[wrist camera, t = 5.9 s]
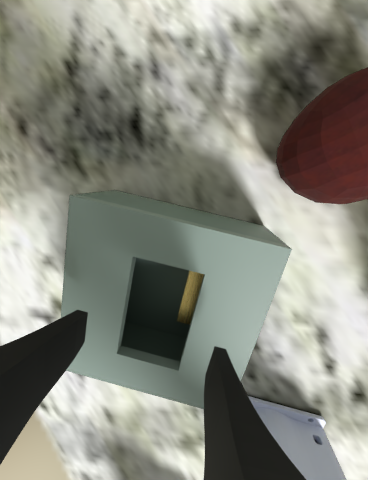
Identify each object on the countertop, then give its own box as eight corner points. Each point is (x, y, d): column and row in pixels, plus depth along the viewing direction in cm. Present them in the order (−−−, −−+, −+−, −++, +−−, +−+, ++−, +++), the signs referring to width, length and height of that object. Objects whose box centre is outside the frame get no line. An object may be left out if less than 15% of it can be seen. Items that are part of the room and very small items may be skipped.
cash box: (264, 225, 18) (291, 249, 12) (222, 349, 22) (227, 415, 16) (114, 189, 19) (69, 195, 13) (98, 316, 23) (57, 368, 16)
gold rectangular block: (192, 257, 19) (242, 269, 19) (180, 305, 21) (226, 317, 21) (190, 267, 17) (247, 282, 17) (176, 321, 18) (229, 335, 18)
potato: (394, 176, 16) (494, 174, 11) (282, 216, 18) (317, 233, 12) (375, 71, 15) (478, 4, 9) (254, 125, 17) (279, 97, 11)
